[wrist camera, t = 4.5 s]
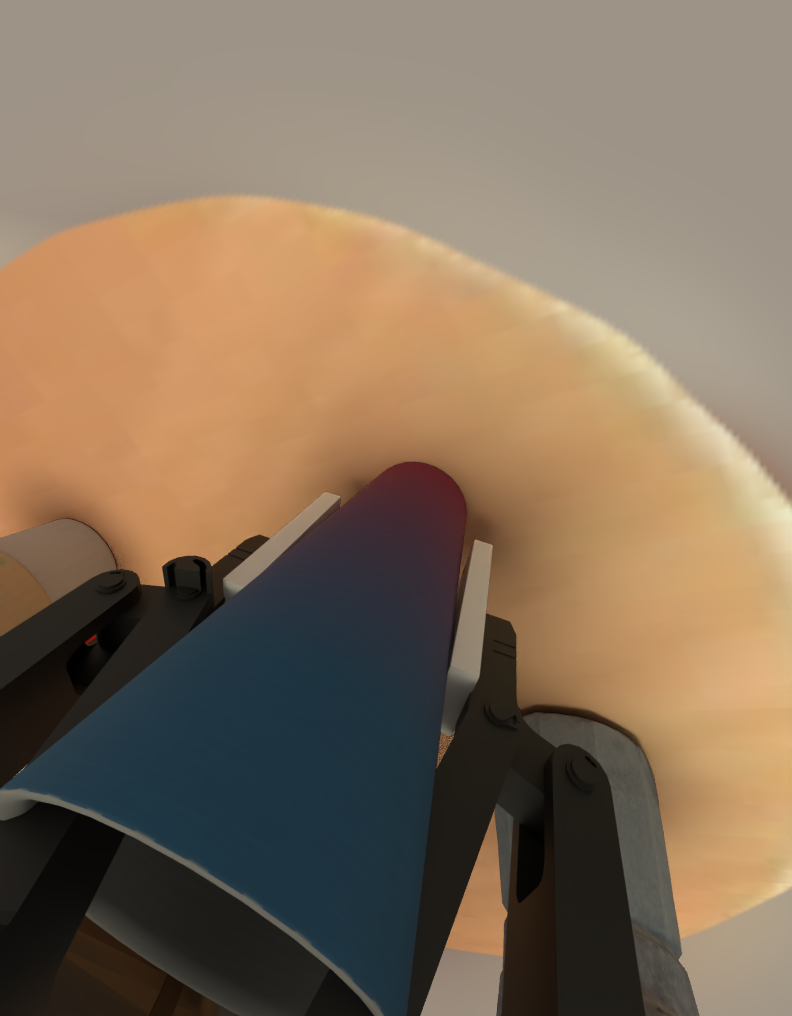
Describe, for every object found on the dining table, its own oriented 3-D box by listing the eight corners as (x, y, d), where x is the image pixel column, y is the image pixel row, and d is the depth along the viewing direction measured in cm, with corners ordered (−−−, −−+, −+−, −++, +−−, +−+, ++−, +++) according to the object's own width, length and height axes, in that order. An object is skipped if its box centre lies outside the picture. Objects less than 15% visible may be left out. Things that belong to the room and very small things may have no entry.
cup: (359, 559, 21) (100, 941, 8) (346, 441, 18) (-101, 734, 5) (482, 574, 19) (412, 1109, 6) (489, 445, 16) (383, 936, 3)
